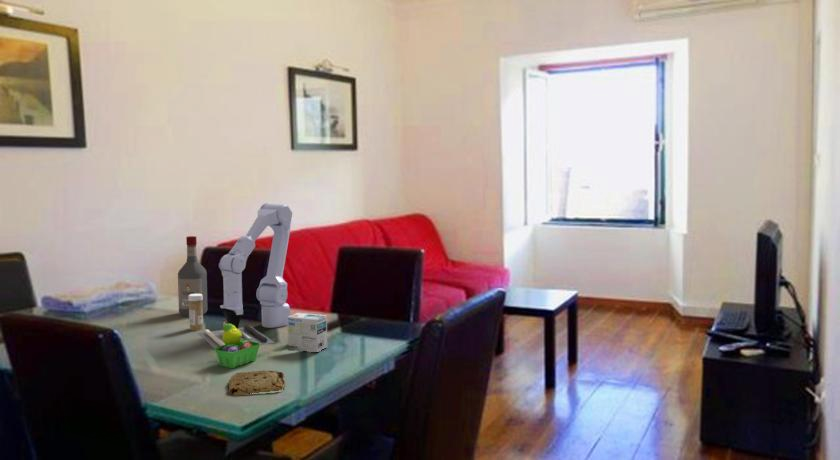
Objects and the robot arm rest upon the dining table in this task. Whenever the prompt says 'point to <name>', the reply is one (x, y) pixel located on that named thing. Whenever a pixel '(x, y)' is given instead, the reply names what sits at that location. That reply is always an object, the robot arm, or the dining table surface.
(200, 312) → the sprinkles bottle
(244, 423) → the dining table surface
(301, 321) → the light bulb box
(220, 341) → the white rounded rod
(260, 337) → the dark grey rounded rod
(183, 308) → the liquor
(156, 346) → the dining table surface
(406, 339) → the dining table surface
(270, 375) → the pastry
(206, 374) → the dining table surface
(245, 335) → the panel
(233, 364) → the fruit basket
